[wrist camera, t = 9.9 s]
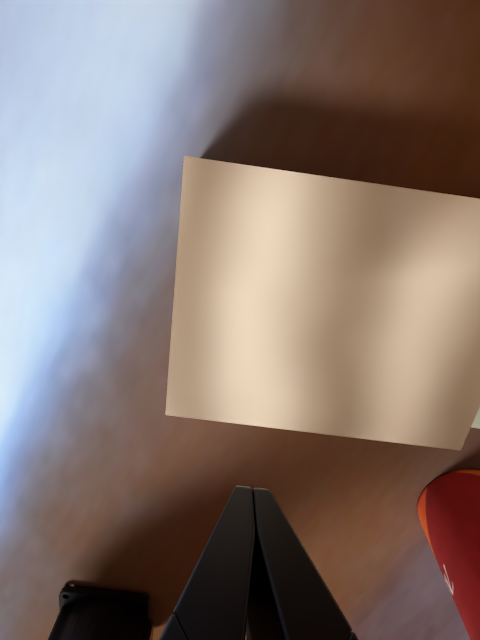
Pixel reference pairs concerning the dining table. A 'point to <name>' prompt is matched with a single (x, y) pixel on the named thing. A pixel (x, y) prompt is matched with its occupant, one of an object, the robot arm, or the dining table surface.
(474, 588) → the paper cup
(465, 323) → the birch step
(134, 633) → the robot arm
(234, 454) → the dining table surface
